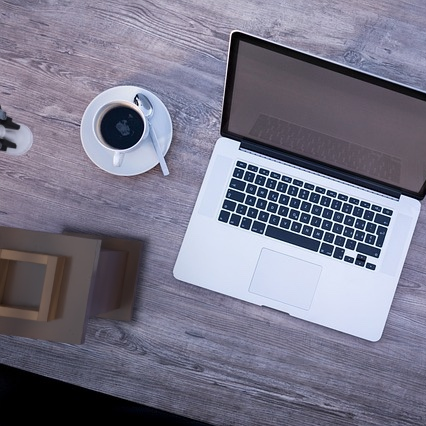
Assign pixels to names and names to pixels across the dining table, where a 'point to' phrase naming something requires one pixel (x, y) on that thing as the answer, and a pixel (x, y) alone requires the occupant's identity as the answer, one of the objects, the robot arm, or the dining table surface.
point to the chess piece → (17, 139)
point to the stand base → (115, 277)
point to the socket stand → (46, 284)
